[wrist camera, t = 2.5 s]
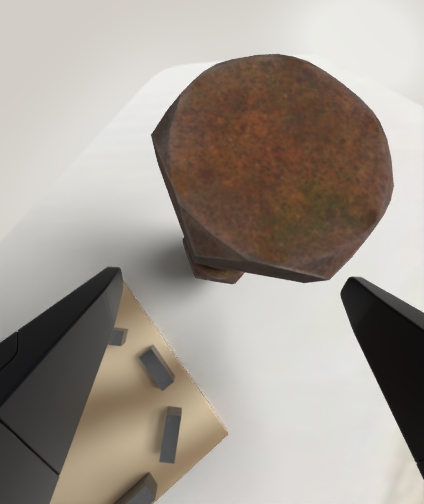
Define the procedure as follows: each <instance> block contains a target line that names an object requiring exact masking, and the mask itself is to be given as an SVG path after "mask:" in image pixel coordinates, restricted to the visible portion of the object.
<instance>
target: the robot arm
mask: <svg viewBox="0 0 424 504" xmlns="http://www.w3.org/2000/svg"><path fill="white" fill-rule="evenodd" d="M122 292H123V279H122V273H121V269H120V268H119V267H107V268H106V269H104V270H103V271H101V272H100V273H98V274H97V275H96V276H94V277H93V278H91V279H90V280H88V281H87V282H86V283H84V284H83V285H81V286H80V287H79V288H77V289H76V290H74V291H73V292H71V293H70V294H69V295H67V296H66V297H64V298H63V299H62V300H60V301H59V302H57V303H56V304H54V305H53V306H52V307H50V308H49V309H47V310H46V311H45V312H43V313H42V314H40V315H39V316H37V317H36V318H35V319H33V320H32V321H30V322H29V323H28V324H26V325H25V326H23V327H22V328H20V329H19V330H18V332H15V333H13V334H12V335H10V336H9V337H8V338H6V339H5V340H3V341H2V342H0V504H50V502H51V499H52V496H53V493H54V491H55V488H56V485H57V482H58V480H59V475H60V474H61V471H62V468H63V466H64V463H65V460H66V457H67V455H68V452H69V449H70V446H71V444H72V441H73V438H74V435H75V433H76V430H77V427H78V425H79V422H80V419H81V416H82V414H83V411H84V408H85V405H86V403H87V400H88V397H89V394H90V392H91V389H92V386H93V384H94V381H95V378H96V375H97V373H98V370H99V367H100V364H101V362H102V359H103V356H104V353H105V351H106V348H107V345H108V343H109V340H110V337H111V334H112V332H113V329H114V325H115V322H116V317H117V313H118V309H119V305H120V300H121V296H122ZM340 295H341V299H342V302H343V305H344V307H345V310H346V313H347V316H348V318H349V321H350V324H351V327H352V329H353V332H354V334H355V336H356V338H357V340H358V342H359V345H360V347H361V349H362V351H363V353H364V355H365V357H366V359H367V361H368V363H369V366H370V368H371V370H372V372H373V374H374V376H375V378H376V380H377V382H378V384H379V387H380V389H381V391H382V393H383V395H384V397H385V399H386V401H387V403H388V405H389V408H390V410H391V412H392V414H393V416H394V418H395V420H396V422H397V424H398V426H399V429H400V431H401V433H402V435H403V437H404V439H405V441H406V443H407V445H408V447H409V449H410V452H411V454H412V456H413V458H414V460H415V462H416V465H417V467H418V469H419V471H420V473H421V475H422V477H423V479H424V313H423V312H422V311H420V310H418V309H416V308H415V307H413V306H411V305H409V304H407V303H406V302H404V301H402V300H400V299H399V298H397V297H395V296H393V295H392V294H390V293H388V292H386V291H385V290H383V289H381V288H379V287H378V286H376V285H374V284H372V283H371V282H369V281H367V280H365V279H364V278H362V277H349V278H348V279H347V281H346V283H345V285H344V286H343V288H342V290H341V294H340Z"/></svg>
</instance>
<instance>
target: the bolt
mask: <svg viewBox="0 0 424 504" xmlns="http://www.w3.org/2000/svg"><path fill="white" fill-rule="evenodd" d="M151 136H152V141H153V145H154V149H155V154H156V158H157V162H158V165H159V168H160V171H161V173H162V176H163V179H164V182H165V185H166V188H167V190H168V193H169V196H170V199H171V201H172V204H173V207H174V210H175V212H176V215H177V218H178V221H179V223H180V226H181V229H182V232H183V234H184V238H183V244H184V247H185V250H186V253H187V256H188V259H189V262H190V264H191V267H192V270H193V273H194V275H195V278H200V279H204V280H210V281H215V282H221V283H228V284H234V283H236V282H237V281H238V280H239V279H240V277H241V276H242V275H243V274H244V273H245V272H246V273H252V274H257V275H263V276H269V277H274V278H280V279H285V280H291V281H296V282H302V283H308V282H317V281H325V280H330V279H331V278H332V277H333V276H334V275H335V274H336V273H337V272H338V271H339V270H340V269H341V268H342V267H343V266H344V265H345V264H346V263H347V262H348V261H349V260H350V259H351V258H352V256H353V255H354V254H355V253H356V251H357V250H358V249H359V248H360V246H361V245H362V244H363V243H364V242H365V240H366V239H367V238H368V236H369V235H370V234H371V232H372V231H373V230H374V228H375V227H376V226H377V224H378V223H379V221H380V220H381V218H382V217H383V215H384V214H385V212H386V209H387V207H388V205H389V203H390V201H391V196H392V192H393V187H394V183H393V172H392V161H391V155H390V150H389V146H388V141H387V138H386V135H385V133H384V131H383V128H382V126H381V123H380V121H379V120H378V118H377V117H376V115H375V114H374V112H373V111H372V110H371V109H370V108H369V107H368V106H367V105H366V104H365V103H364V102H363V101H362V100H361V98H360V97H358V96H357V95H356V94H355V93H353V92H352V91H351V90H350V89H349V88H347V87H346V86H345V85H344V84H342V83H341V82H340V81H338V80H337V79H336V78H334V77H333V76H331V75H330V74H328V73H327V72H326V71H324V70H322V69H321V68H319V67H317V66H315V65H313V64H312V63H310V62H308V61H305V60H302V59H299V58H296V57H292V56H286V55H280V54H269V55H254V56H249V57H243V58H237V59H231V60H228V61H225V62H221V63H218V64H216V65H214V66H212V67H211V68H209V69H207V70H205V71H204V72H202V73H201V74H200V75H199V76H198V77H197V78H196V79H195V80H193V81H192V82H191V83H190V84H189V86H188V87H187V88H186V89H185V90H184V91H183V92H182V93H181V94H180V95H179V96H178V98H177V99H176V100H175V101H174V103H173V104H172V105H171V106H170V107H169V109H168V110H167V111H166V113H165V115H164V116H163V118H162V119H161V121H160V122H159V124H158V125H157V127H156V128H155V130H154V131H153V133H152V134H151Z"/></svg>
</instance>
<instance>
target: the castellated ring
mask: <svg viewBox="0 0 424 504" xmlns="http://www.w3.org/2000/svg"><path fill="white" fill-rule="evenodd" d="M127 332H128V329H125V328H118V327H114V329H113V332H112V334H111V337H110V340H109V343H108V345H114V346H122V345H123V344H124V343H125V342H126V337H127ZM139 359H140V360H141V361H142V363H143V364H144V366H145V367H146V369H147V370H148V372H149V373H150V375H151V376H152V378H153V379H154V381H155V382H156V384H157V385H158V386H159V388H160V389H161V391H163V390H165V389H166V388H167V387H168V386H169V385H171V384H172V383H173V382H174V379H175V375H174V373H173V372H172V370H171V369H170V368H169V366H168V365H167V363H166V362H165V360H164V359H163V357H162V356H161V354H160V353H159V352H158V350H157V349H156V347H155V346H154V344H153V345H152V346H151V347H149V348H148V349H147V350H145V351H144V352H143V353H142V354H141V355H140V356H139ZM181 415H182V408H181V407H172V406H168V410H167V415H166V422H165V428H164V434H163V440H162V446H161V453H160V459H159V462H162V463H172V464H174V462H175V455H176V449H177V442H178V435H179V429H180V422H181ZM157 486H158V484H157V483H156V481H155V480H154V478H153V476H152V475H151V473H150V472H148V473H147V474H146V475H145V476H144V477H143V478H142V479H141V480H139V481H138V482H137V483H136V484H135V485H134V486H133V487H132V488H130V489H129V490H128V491H127V492H126V493H125V494H124V495H123V496H121V497H120V498H119V499H118V500H117V501H116V502H115V503H114V504H151V503H152V502H153V501H155V498H156V492H157Z"/></svg>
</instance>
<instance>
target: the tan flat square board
mask: <svg viewBox="0 0 424 504" xmlns="http://www.w3.org/2000/svg"><path fill="white" fill-rule="evenodd" d="M114 327H118V328H125V329H128V332H127V337H126V342H125V343H124V344H123V345H122V346H114V345H107V348H106V351H105V353H104V356H103V359H102V362H101V364H100V367H99V370H98V373H97V375H96V378H95V381H94V384H93V386H92V389H91V392H90V394H89V397H88V400H87V403H86V405H85V408H84V411H83V414H82V416H81V419H80V422H79V425H78V427H77V430H76V433H75V435H74V438H73V441H72V444H71V446H70V449H69V452H68V455H67V457H66V460H65V463H64V466H63V468H62V471H61V474H60V475H59V480H58V482H57V485H56V488H55V491H54V493H53V496H52V499H51V502H50V504H114V503H115V502H116V501H117V500H118V499H119V498H120V497H121V496H123V495H124V494H125V493H126V492H127V491H128V490H129V489H130V488H132V487H133V486H134V485H135V484H136V483H137V482H138V481H139V480H141V479H142V478H143V477H144V476H145V475H146V474H147V473H148V472H150V473H151V475H152V476H153V478H154V480H155V481H156V483H157V484H158V486H157V492H156V498H155V501H156V500H157V499H158V498H160V497H161V496H162V495H163V494H164V493H165V492H166V491H167V490H168V489H169V488H170V487H172V486H173V485H174V484H175V483H176V482H177V481H178V480H179V479H180V478H181V477H182V476H183V475H185V474H186V473H187V472H188V471H189V470H190V469H191V468H192V467H193V466H194V465H195V464H196V463H198V462H199V461H200V460H201V459H202V458H203V457H204V456H205V455H206V454H207V453H208V452H209V451H211V450H212V449H213V448H214V447H215V446H216V445H217V444H218V443H219V442H220V441H221V440H222V439H224V438H225V437H226V436H227V435H228V432H227V429H226V428H225V426H224V425H223V423H222V422H221V421H220V419H219V418H218V416H217V415H216V413H215V412H214V411H213V409H212V408H211V406H210V405H209V403H208V402H207V401H206V399H205V398H204V396H203V395H202V393H201V392H200V390H199V389H198V388H197V386H196V385H195V383H194V382H193V380H192V379H191V378H190V376H189V375H188V373H187V372H186V370H185V369H184V367H183V366H182V365H181V363H180V362H179V360H178V359H177V357H176V356H175V355H174V353H173V352H172V350H171V349H170V347H169V346H168V345H167V343H166V342H165V340H164V339H163V337H162V336H161V334H160V333H159V332H158V330H157V329H156V327H155V326H154V324H153V323H152V322H151V320H150V319H149V317H148V316H147V314H146V313H145V311H144V310H143V309H142V307H141V306H140V304H139V303H138V301H137V300H136V299H135V297H134V296H133V294H132V293H131V291H130V290H129V288H128V287H127V286H126V284H125V283H124V281H123V292H122V296H121V300H120V305H119V309H118V313H117V317H116V322H115V325H114ZM153 344H154V346H155V347H156V349H157V350H158V352H159V353H160V354H161V356H162V357H163V359H164V360H165V362H166V363H167V365H168V366H169V368H170V369H171V370H172V372H173V373H174V375H175V379H174V382H173V383H172V384H171V385H169V386H168V387H167V388H166V389H165V390H163V391H161V389H160V388H159V386H158V385H157V384H156V382H155V381H154V379H153V378H152V376H151V375H150V373H149V372H148V370H147V369H146V367H145V366H144V364H143V363H142V361H141V360H140V359H139V356H140V355H141V354H142V353H143V352H144V351H145V350H147V349H148V348H149V347H151V346H152V345H153ZM168 406H172V407H181V408H182V415H181V422H180V429H179V435H178V442H177V449H176V455H175V462H174V464H172V463H162V462H159V459H160V453H161V446H162V440H163V434H164V428H165V422H166V415H167V410H168ZM155 501H153V502H152V503H151V504H153V503H154V502H155Z"/></svg>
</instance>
